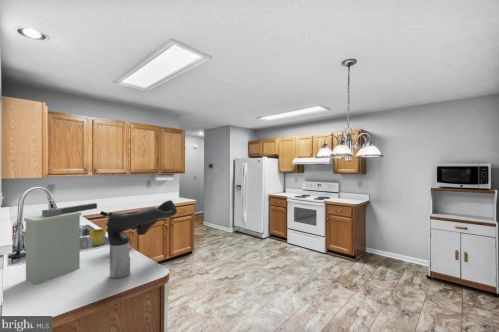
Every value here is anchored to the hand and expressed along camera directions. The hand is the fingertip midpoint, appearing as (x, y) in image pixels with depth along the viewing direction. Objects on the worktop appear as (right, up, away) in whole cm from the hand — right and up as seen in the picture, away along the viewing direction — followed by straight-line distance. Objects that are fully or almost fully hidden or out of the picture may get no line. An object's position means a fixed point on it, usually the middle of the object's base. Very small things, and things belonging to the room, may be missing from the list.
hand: (105, 213), depth 153 cm
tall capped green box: (-12, -28, -25) cm, 39 cm away
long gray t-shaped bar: (-8, +4, -17) cm, 20 cm away
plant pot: (-19, -27, +22) cm, 40 cm away
